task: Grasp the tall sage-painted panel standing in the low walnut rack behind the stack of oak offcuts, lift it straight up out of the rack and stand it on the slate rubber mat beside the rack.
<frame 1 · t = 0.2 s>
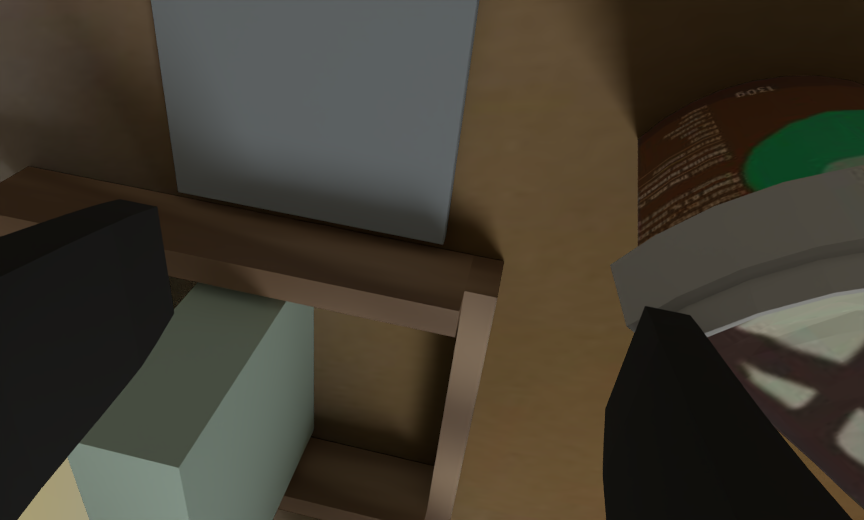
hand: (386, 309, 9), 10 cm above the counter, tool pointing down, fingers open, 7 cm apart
sage panel: (277, 344, 25), resting in walnut rack
food container: (848, 167, 17), on the counter
slate mat: (312, 76, 18), on the counter
walnut rack: (252, 340, 25), on the counter
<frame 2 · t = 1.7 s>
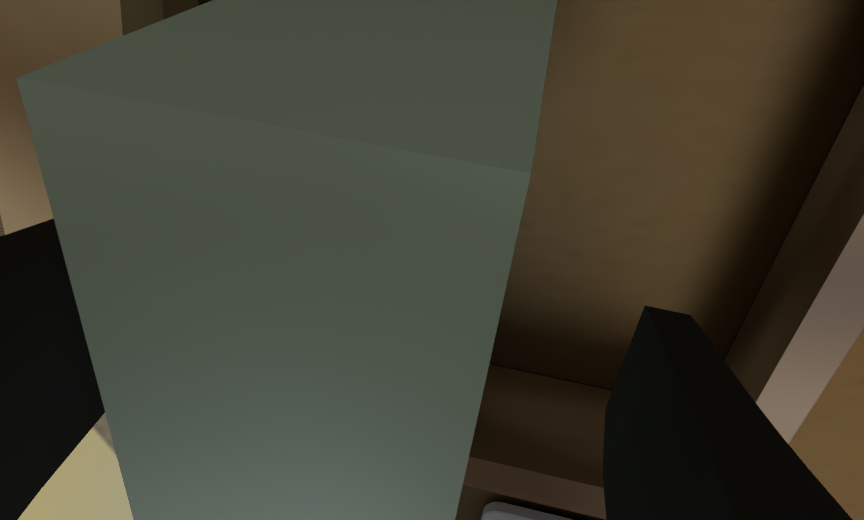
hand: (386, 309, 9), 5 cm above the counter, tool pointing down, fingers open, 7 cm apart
sage panel: (446, 173, 13), resting in walnut rack
walnut rack: (400, 166, 13), on the counter
offcut middle: (129, 101, 13), resting on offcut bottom, touching offcut top
offcut top: (97, 123, 12), point 2 cm above the counter, touching offcut middle
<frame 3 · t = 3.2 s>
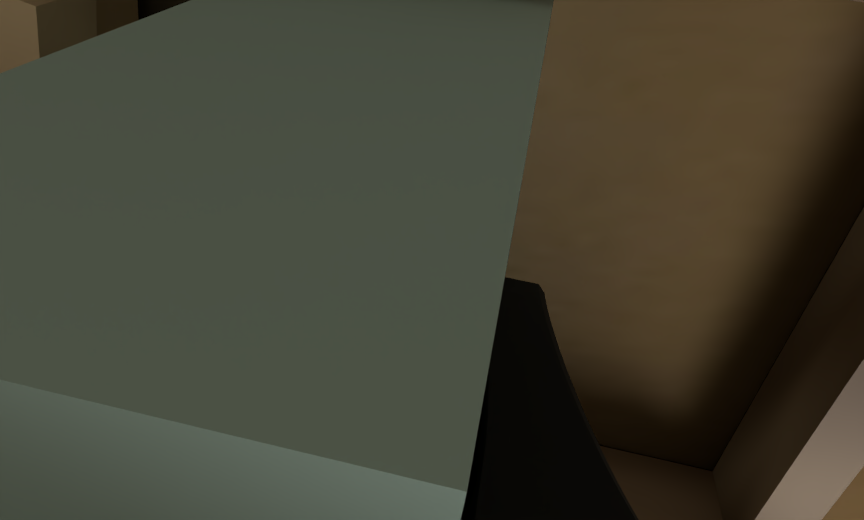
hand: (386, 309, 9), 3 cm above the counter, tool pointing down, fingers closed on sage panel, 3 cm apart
sage panel: (426, 214, 12), resting in walnut rack, touching gripper
walnut rack: (374, 205, 12), on the counter
offcut middle: (69, 133, 12), resting on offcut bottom, touching offcut top
offcut top: (16, 154, 11), point 2 cm above the counter, touching offcut middle
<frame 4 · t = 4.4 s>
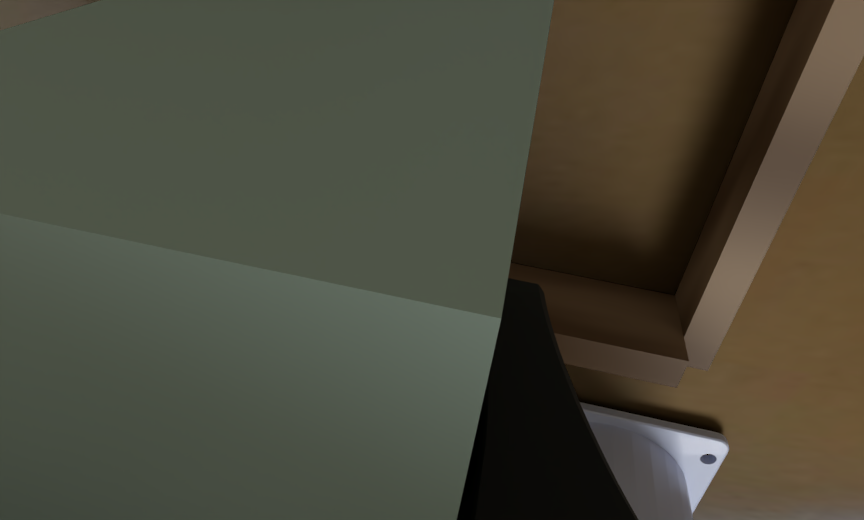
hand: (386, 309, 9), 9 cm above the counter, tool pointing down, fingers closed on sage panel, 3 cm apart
sage panel: (430, 197, 12), point 6 cm above the counter, touching gripper
walnut rack: (438, 92, 17), on the counter
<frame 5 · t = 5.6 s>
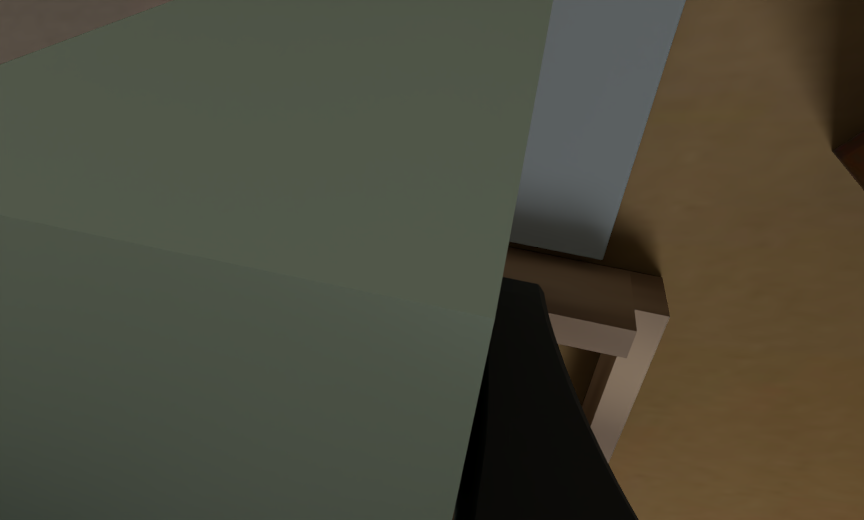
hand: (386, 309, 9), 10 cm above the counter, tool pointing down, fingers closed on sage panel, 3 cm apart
sage panel: (433, 195, 12), point 6 cm above the counter, touching gripper
slate mat: (481, 84, 17), on the counter
walnut rack: (371, 357, 24), on the counter
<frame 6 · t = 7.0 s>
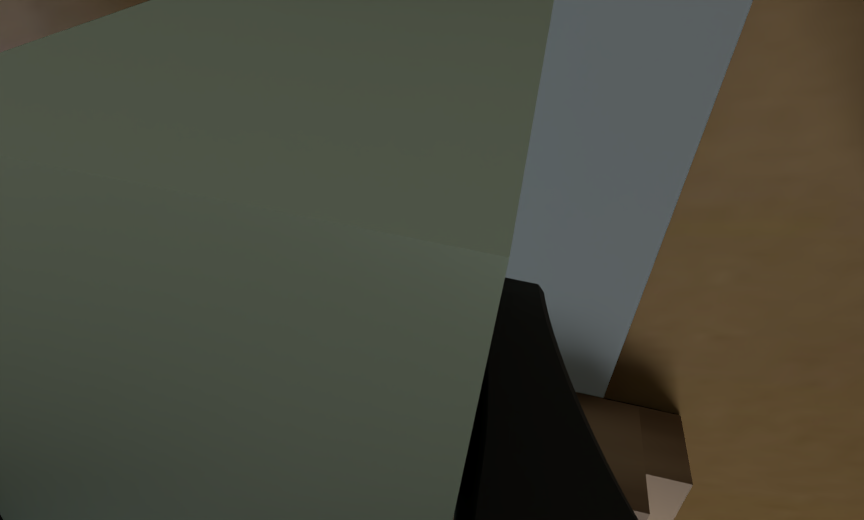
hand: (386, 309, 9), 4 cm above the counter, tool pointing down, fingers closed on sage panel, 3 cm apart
sage panel: (436, 186, 12), point 1 cm above the counter, touching gripper, slate mat
slate mat: (440, 180, 13), on the counter
walnut rack: (320, 482, 19), on the counter
when the fingers open (4 cm above the counter, at t = 7.4 s): sage panel stays where it is, resting on slate mat.
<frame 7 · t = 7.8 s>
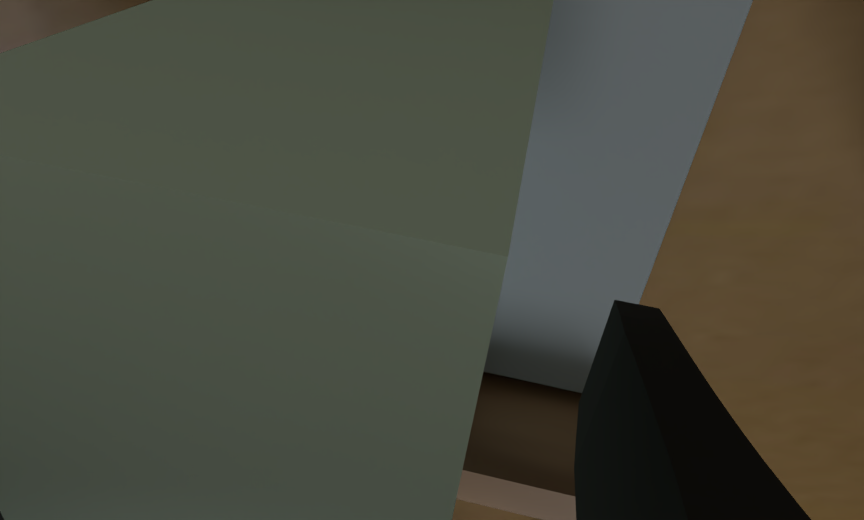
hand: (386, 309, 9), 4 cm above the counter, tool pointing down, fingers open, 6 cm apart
sage panel: (436, 186, 12), resting on slate mat
slate mat: (440, 180, 13), on the counter
walnut rack: (320, 482, 19), on the counter
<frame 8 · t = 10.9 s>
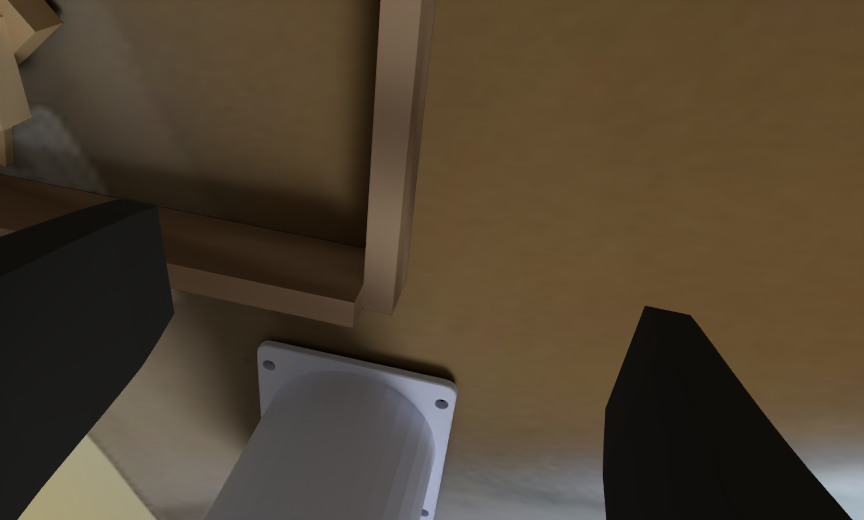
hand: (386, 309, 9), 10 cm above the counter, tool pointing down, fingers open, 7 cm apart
walnut rack: (142, 68, 20), on the counter
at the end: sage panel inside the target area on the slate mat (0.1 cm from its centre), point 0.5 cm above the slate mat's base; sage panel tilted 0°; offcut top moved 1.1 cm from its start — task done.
